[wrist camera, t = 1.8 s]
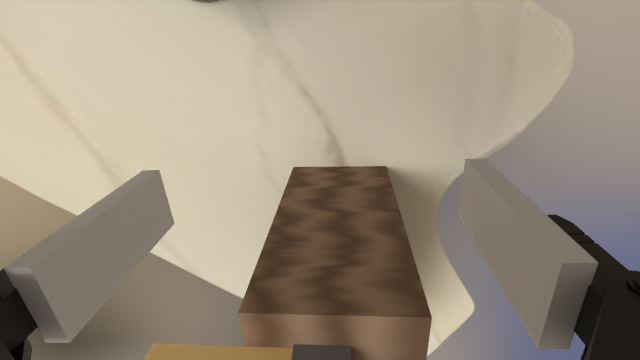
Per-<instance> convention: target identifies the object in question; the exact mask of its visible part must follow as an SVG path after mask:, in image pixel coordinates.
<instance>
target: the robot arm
mask: <svg viewBox="0 0 640 360" xmlns="http://www.w3.org/2000/svg"><path fill="white" fill-rule="evenodd" d="M194 1H199V2H213V1H217V0H194ZM458 218H459V219H460V221H461V223H462V224H463V226H464V228H465V229H466V231H467V233H468V234H469V236H470V237H471V239H472V241H473V242H474V244H475V246H476V247H477V249H478V251H479V253H480V254H481V255H482V257H483V259H484V261H485V262H486V264H487V265H488V267H489V269H490V271H491V272H492V274H493V275H494V277H495V279H496V281H497V282H498V284H499V285H500V287H501V289H502V291H503V292H504V294H505V295H506V297H507V299H508V300H509V302H510V304H511V305H512V307H513V309H514V310H515V312H516V314H517V315H518V317H519V319H520V320H521V322H522V324H523V325H524V327H525V329H526V330H527V332H528V334H529V335H530V337H531V339H532V340H533V342H534V343H535V345H536V347H537V349H569V347H570V345H571V341H572V339H573V336H574V332H576V334H577V335H578V336H579V338H580V339H581V340H582V341H583V342H584V344H585V348H584V351H583V354H582V356H581V359H580V360H640V272H639V271H629V270H628V269H626V268H625V267H624V266H623V265H622V264H620V263H619V262H618V261H617V260H616V259H615V258H613V257H612V256H611V255H610V254H609V253H608V252H606V251H605V250H604V249H603V248H602V247H600V246H599V245H598V244H595V243H594V241H593V240H592V239H591V238H590V237H589V236H587V235H585V233H584V232H583V231H582V230H580V229H579V228H578V227H577V226H575V224H573V223H571V222H570V221H568V220H566V219H563V218H562V217H560V216H558V215H546V214H545V213H544V212H543V211H541V210H540V209H539V208H538V207H537V206H536V205H535V204H534V203H533V202H532V201H531V200H530V199H529V198H527V197H526V196H525V195H524V194H523V193H522V192H521V191H520V190H519V189H518V188H517V187H515V186H514V185H513V184H512V183H511V182H510V181H509V180H508V179H507V178H506V177H505V176H503V175H502V174H501V173H500V172H499V171H498V170H497V169H496V168H495V167H494V166H493V165H492V164H490V163H489V162H488V161H487V160H486V159H485V158H484V159H465V167H464V176H463V184H462V192H461V200H460V209H459V217H458ZM173 224H174V220H173V217H172V213H171V210H170V206H169V203H168V199H167V196H166V192H165V189H164V185H163V182H162V178H161V175H160V171H159V170H149V171H142V172H140V173H139V174H137V175H136V176H134V177H133V178H132V179H130V180H129V181H127V182H126V183H124V184H123V185H122V186H120V187H119V188H117V189H116V190H114V191H113V192H112V193H110V194H109V195H107V196H106V197H104V198H103V199H102V200H100V201H99V202H97V203H96V204H94V205H93V206H92V207H90V208H89V209H87V210H86V211H84V212H83V213H82V214H80V215H79V216H77V217H76V218H74V219H73V220H71V221H70V222H69V223H67V224H66V225H64V226H63V227H62V228H60V229H59V230H57V231H56V232H54V233H53V234H51V235H50V236H49V237H47V238H46V239H44V240H43V241H41V242H40V243H39V244H37V245H36V246H34V247H33V248H32V249H30V250H29V251H27V252H26V253H25V254H23V255H22V256H20V257H18V258H17V259H16V260H14V261H13V262H11V263H10V264H9V265H7V266H6V267H4V269H2V270H1V271H0V360H31V352H32V346H31V343H30V341H29V340H28V338H27V337H28V336H29V335H30V334H31V333H32V332H33V331H34V330H35V329H36V328H38V330H39V332H40V333H41V335H42V337H43V339H44V340H45V342H56V343H57V342H59V343H60V342H61V343H70V342H71V340H72V339H73V338H74V337H75V336H76V335H77V334H78V332H79V331H80V330H81V329H82V328H83V327H84V326H85V324H86V323H87V322H88V321H89V320H90V319H91V318H92V316H93V315H94V314H95V313H96V312H97V311H98V310H99V309H100V307H101V306H102V305H103V304H104V303H105V302H106V301H107V299H108V298H109V297H110V296H111V295H112V294H113V292H114V291H115V290H116V289H117V288H118V287H119V286H120V285H121V284H122V282H123V281H124V280H125V279H126V278H127V277H128V275H129V274H130V273H131V272H132V271H133V270H134V269H135V268H136V266H137V265H138V264H139V263H140V262H141V261H142V260H143V259H144V257H145V256H146V255H147V254H148V253H149V252H150V251H151V249H152V248H153V247H154V246H155V245H156V244H157V243H158V241H159V240H160V239H161V238H162V237H163V236H164V235H165V234H166V232H167V231H168V230H169V229H170V228H171V227H172V226H173Z"/></svg>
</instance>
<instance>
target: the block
mask: <svg viewBox="0 0 640 360" xmlns="http://www.w3.org/2000/svg"><path fill="white" fill-rule="evenodd" d="M144 360H351V346H337V345H306V344H294V346H293V348H274V347H243V346H213V345H180V344H153V346H152V347H151V349H150V350H149V352H148V354H147V355H146V357H145V358H144Z"/></svg>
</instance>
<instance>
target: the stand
mask: <svg viewBox="0 0 640 360" xmlns="http://www.w3.org/2000/svg"><path fill="white" fill-rule="evenodd" d="M238 315H239V320H240V326H241V331H242V336H243V342H244V347H274V348H293V346H294V344H306V345H337V346H351V360H426V357H427V350H428V342H429V334H430V327H431V319H432V317H431V314H430V310H429V307H428V304H427V301H426V297H425V294H424V291H423V287H422V284H421V281H420V277H419V274H418V271H417V267H416V264H415V261H414V257H413V254H412V251H411V248H410V244H409V241H408V238H407V234H406V231H405V228H404V224H403V221H402V218H401V214H400V211H399V208H398V204H397V201H396V198H395V195H394V191H393V188H392V185H391V181H390V178H389V175H388V171H387V168H386V166H374V167H293V170H292V173H291V175H290V178H289V180H288V183H287V186H286V188H285V191H284V194H283V196H282V199H281V202H280V204H279V207H278V209H277V212H276V215H275V217H274V220H273V223H272V225H271V228H270V230H269V233H268V236H267V238H266V241H265V244H264V246H263V249H262V252H261V254H260V257H259V259H258V262H257V265H256V267H255V270H254V273H253V275H252V278H251V280H250V283H249V286H248V288H247V291H246V294H245V296H244V299H243V302H242V304H241V307H240V310H239V312H238Z"/></svg>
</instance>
